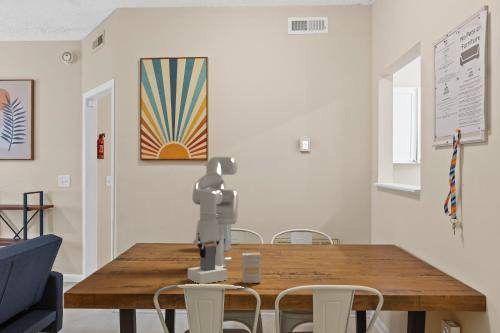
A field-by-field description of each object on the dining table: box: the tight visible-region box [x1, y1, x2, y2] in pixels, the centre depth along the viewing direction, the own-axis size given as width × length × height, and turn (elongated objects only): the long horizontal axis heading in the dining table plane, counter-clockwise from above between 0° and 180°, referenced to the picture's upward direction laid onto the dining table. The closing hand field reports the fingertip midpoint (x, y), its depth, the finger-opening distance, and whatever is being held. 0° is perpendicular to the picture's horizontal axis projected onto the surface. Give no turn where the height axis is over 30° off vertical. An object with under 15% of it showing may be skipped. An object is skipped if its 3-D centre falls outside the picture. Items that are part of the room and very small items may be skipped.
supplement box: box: [241, 252, 262, 285], centre depth 183 cm, size 8×5×13 cm, turn 92°
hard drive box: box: [219, 224, 232, 252], centre depth 257 cm, size 16×8×20 cm, turn 73°
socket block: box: [187, 265, 228, 285], centre depth 186 cm, size 14×12×5 cm
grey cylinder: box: [199, 242, 215, 271], centre depth 187 cm, size 5×5×12 cm
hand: (207, 256), depth 187 cm, fingers closed on grey cylinder, 5 cm apart
